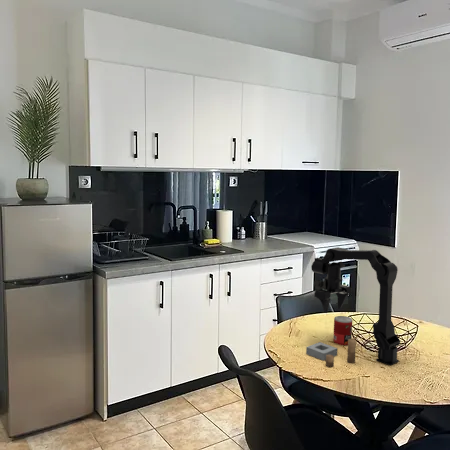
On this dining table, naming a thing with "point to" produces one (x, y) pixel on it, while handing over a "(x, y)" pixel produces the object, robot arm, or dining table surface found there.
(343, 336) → the canned food
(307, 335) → the dining table surface
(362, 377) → the dining table surface
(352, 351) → the long pin
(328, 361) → the short pin
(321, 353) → the socket block
